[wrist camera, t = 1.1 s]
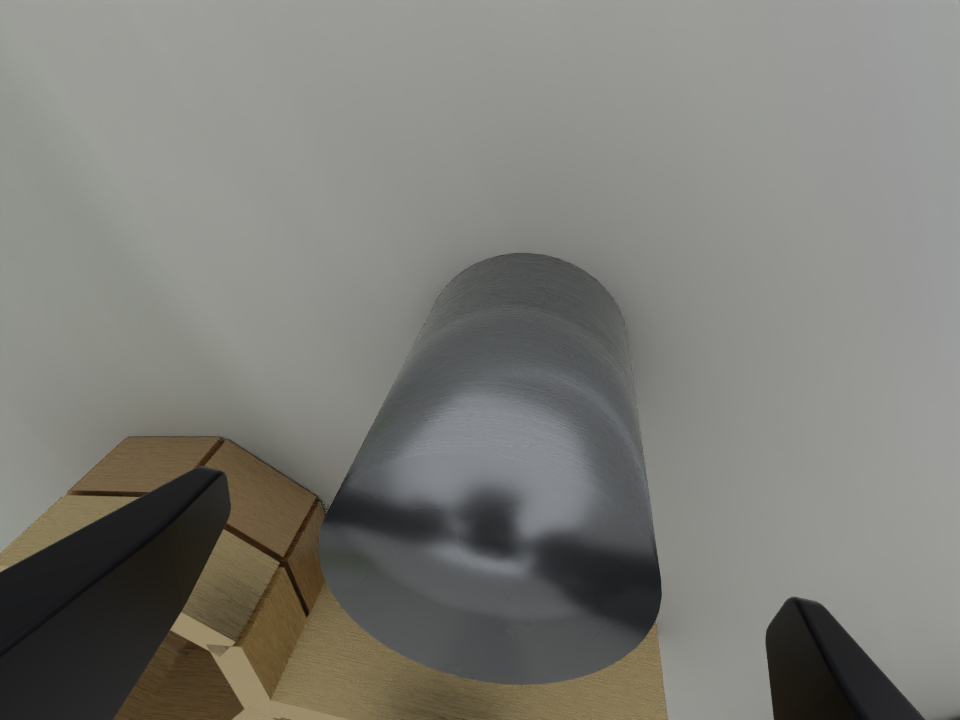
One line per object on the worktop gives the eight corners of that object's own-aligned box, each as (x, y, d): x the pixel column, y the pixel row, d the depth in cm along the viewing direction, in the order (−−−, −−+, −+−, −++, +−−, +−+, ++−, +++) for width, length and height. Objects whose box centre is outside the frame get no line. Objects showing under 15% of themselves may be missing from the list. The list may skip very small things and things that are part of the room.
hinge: (664, 629, 19) (688, 806, 15) (405, 759, 27) (372, 899, 22) (195, 307, 15) (43, 420, 11) (54, 570, 23) (-66, 696, 19)
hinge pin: (672, 344, 13) (741, 600, 8) (535, 456, 16) (506, 717, 10) (511, 208, 12) (445, 383, 6) (391, 352, 15) (263, 574, 9)
